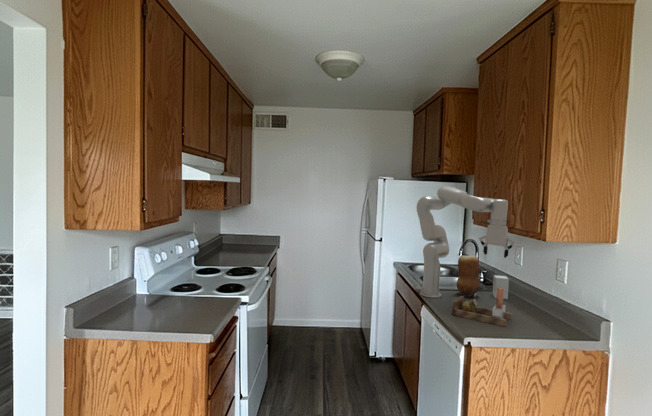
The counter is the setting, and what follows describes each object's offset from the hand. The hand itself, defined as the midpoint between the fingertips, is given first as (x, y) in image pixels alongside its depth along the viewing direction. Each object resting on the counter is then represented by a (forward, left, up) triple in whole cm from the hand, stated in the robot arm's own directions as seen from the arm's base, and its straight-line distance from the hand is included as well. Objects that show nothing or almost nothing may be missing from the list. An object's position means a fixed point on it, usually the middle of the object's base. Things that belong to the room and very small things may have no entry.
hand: (495, 255), depth 196 cm
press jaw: (+5, -11, -29) cm, 32 cm away
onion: (-9, -11, -30) cm, 33 cm away
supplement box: (-3, +37, -30) cm, 48 cm away
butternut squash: (-19, +25, -30) cm, 43 cm away
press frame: (-3, -11, -30) cm, 32 cm away
